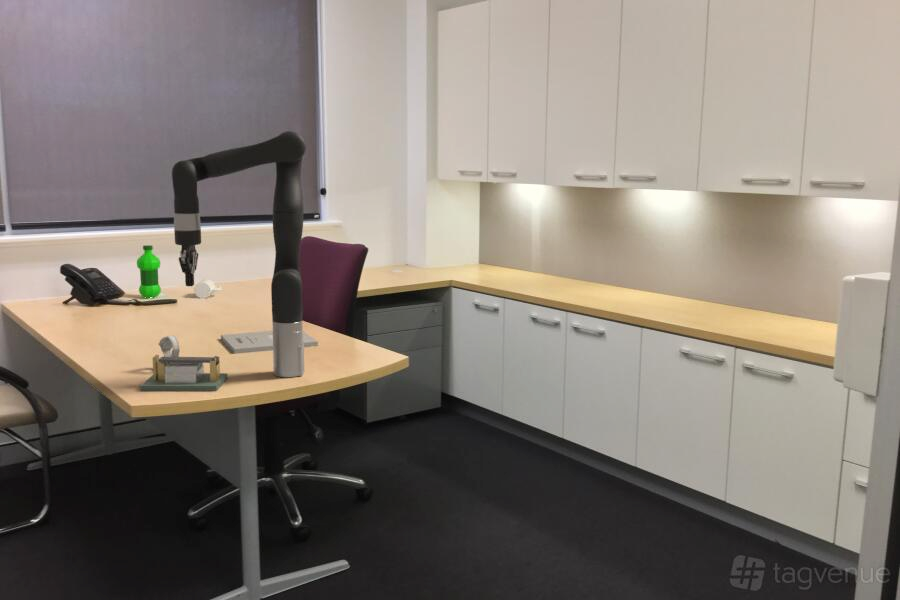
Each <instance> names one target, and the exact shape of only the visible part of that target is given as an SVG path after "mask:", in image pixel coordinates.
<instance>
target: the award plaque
mask: <svg viewBox="0 0 900 600" xmlns="http://www.w3.org/2000/svg"><path fill="white" fill-rule="evenodd" d="M220 340H221V341H222V343H224V344H225V345H226V347H228V348H229V350H230V351H232V353H233V354H234V355H238V354H247V353H257V352H258V353H259V352H266V351H267V352H269V351H273V330H264V331H253V332H252V331H251V332H240V333H229V334H221V335H220ZM303 342H304V348H312V347H311V346H314V347H319V341H317V340H316V339H315V338H313V337H312V336H310V335H309V334H307V333H306V332H305V331H303Z"/></svg>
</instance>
